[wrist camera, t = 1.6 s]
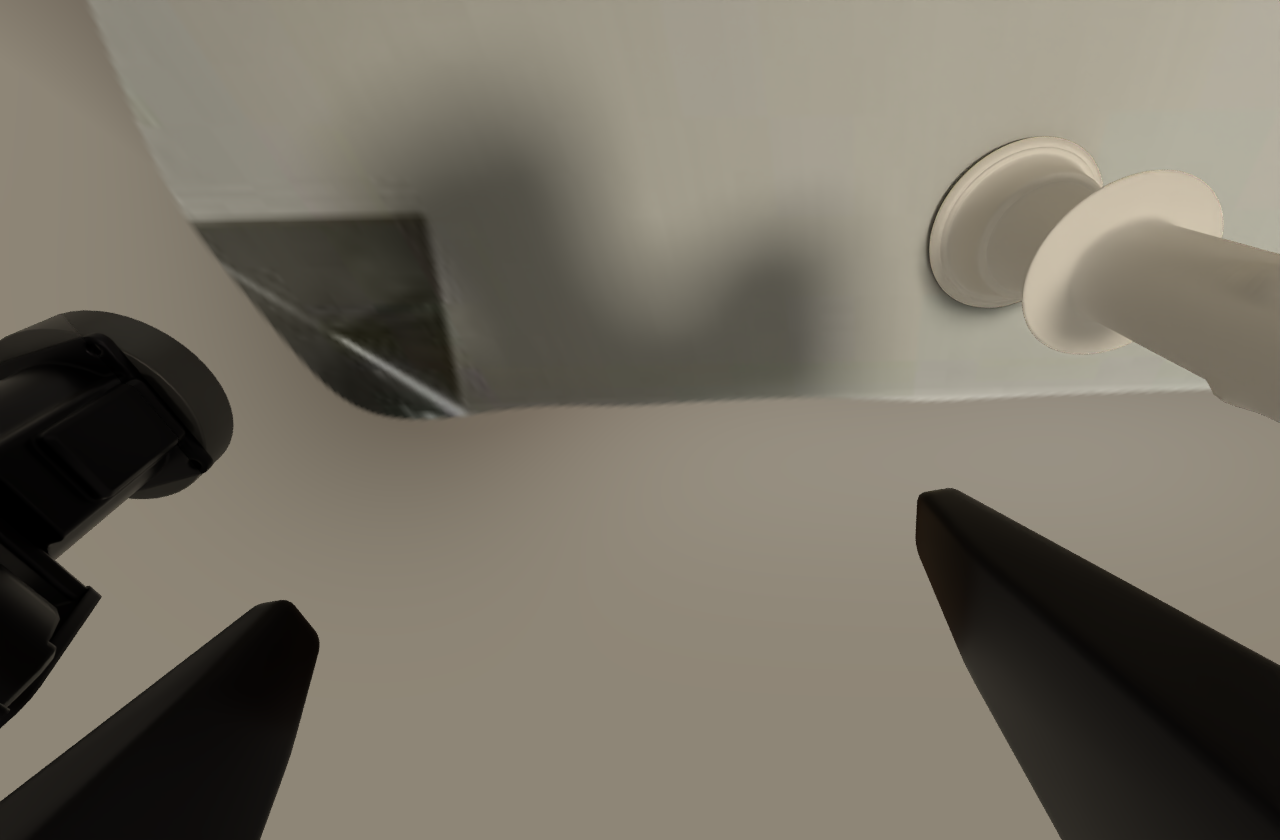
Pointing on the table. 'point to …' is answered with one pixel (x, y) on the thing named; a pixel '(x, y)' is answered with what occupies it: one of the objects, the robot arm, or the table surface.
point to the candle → (1114, 265)
